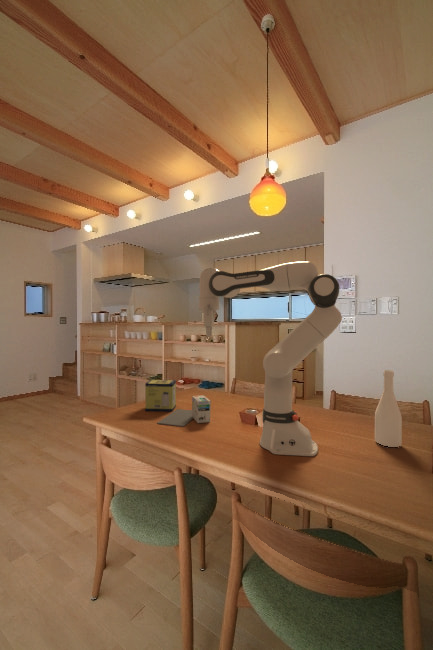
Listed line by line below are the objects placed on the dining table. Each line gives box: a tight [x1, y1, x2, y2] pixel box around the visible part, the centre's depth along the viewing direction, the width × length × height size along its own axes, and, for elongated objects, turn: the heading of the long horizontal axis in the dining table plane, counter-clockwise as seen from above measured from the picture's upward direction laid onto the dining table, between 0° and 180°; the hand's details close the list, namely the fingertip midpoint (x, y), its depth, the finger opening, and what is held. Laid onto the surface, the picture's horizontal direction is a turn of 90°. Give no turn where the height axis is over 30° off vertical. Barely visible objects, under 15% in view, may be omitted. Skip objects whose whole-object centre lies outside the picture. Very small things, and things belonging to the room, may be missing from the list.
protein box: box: [144, 379, 177, 413], centre depth 168 cm, size 10×16×16 cm
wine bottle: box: [374, 369, 403, 448], centre depth 121 cm, size 10×10×30 cm
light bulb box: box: [191, 395, 212, 424], centre depth 149 cm, size 11×7×11 cm, turn 22°
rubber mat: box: [156, 408, 195, 428], centre depth 152 cm, size 14×24×1 cm, turn 163°
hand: (208, 336), depth 132 cm, fingers open, 8 cm apart
